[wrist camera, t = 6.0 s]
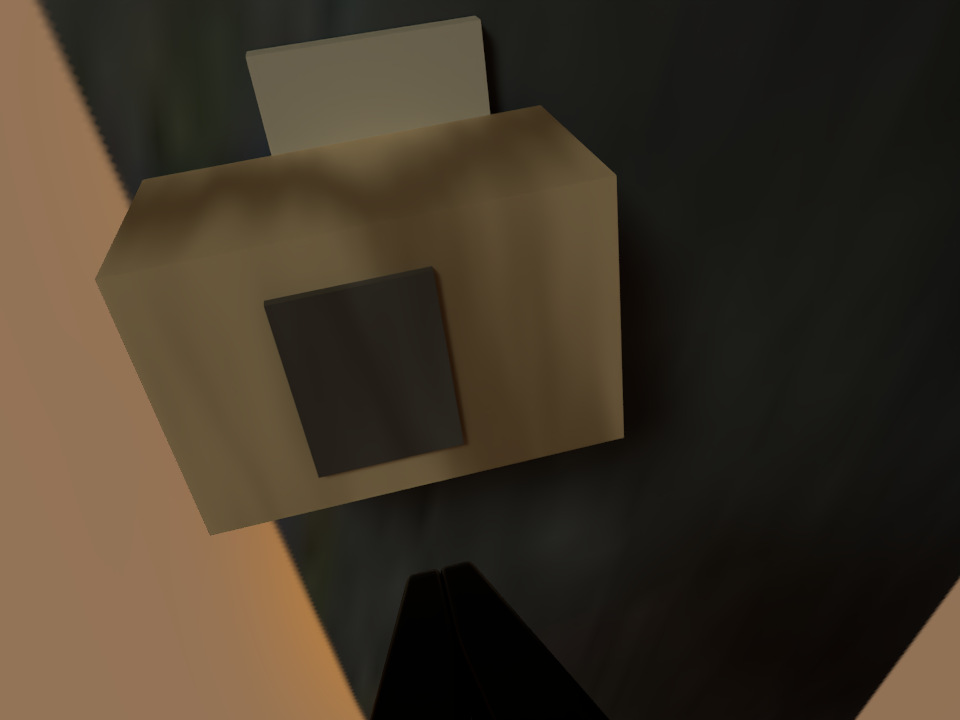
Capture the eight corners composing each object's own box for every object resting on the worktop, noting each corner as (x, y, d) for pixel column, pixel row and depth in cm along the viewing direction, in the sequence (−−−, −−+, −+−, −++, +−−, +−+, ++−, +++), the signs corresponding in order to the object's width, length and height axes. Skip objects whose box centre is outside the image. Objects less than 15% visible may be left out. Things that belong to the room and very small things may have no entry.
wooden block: (620, 178, 14) (92, 284, 13) (627, 443, 17) (209, 542, 16) (540, 105, 18) (142, 179, 17) (558, 326, 21) (226, 399, 20)
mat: (475, 15, 17) (480, 20, 17) (513, 384, 23) (518, 395, 22) (247, 51, 17) (245, 57, 16) (343, 420, 22) (344, 433, 22)
